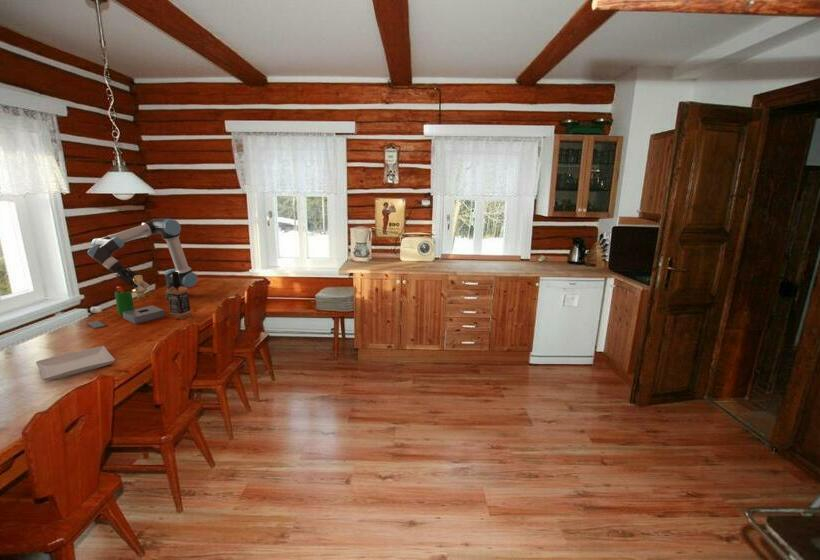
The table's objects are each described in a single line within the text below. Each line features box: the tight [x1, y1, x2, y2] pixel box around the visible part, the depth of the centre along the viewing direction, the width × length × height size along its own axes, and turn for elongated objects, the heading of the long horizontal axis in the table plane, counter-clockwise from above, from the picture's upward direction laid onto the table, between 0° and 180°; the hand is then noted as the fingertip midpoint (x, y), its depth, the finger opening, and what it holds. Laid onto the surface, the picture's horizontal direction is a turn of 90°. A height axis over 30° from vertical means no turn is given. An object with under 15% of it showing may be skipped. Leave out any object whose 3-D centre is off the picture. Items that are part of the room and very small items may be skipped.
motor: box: [114, 286, 135, 316], centre depth 270 cm, size 10×9×20 cm
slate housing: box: [122, 304, 166, 325], centre depth 260 cm, size 18×18×6 cm
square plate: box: [35, 345, 116, 381], centre depth 194 cm, size 27×27×4 cm
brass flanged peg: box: [131, 274, 148, 300], centre depth 255 cm, size 8×8×15 cm
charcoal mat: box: [86, 319, 109, 330], centre depth 252 cm, size 14×14×1 cm
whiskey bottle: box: [166, 272, 193, 321], centre depth 261 cm, size 10×10×32 cm
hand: (145, 288), depth 256 cm, fingers closed on brass flanged peg, 7 cm apart
